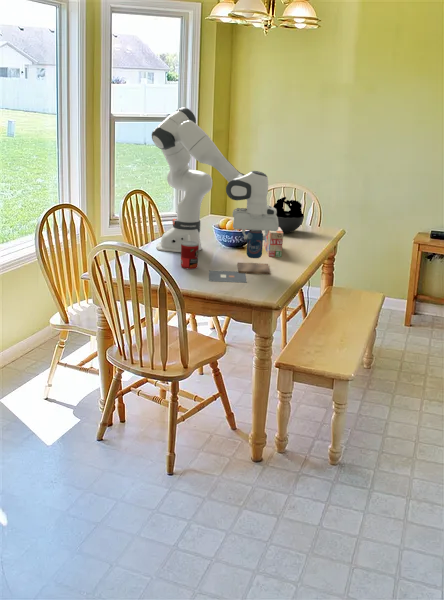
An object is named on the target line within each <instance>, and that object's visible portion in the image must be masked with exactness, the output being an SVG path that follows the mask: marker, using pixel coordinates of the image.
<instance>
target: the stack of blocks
mask: <svg viewBox="0 0 444 600" xmlns="http://www.w3.org/2000/svg"><path fill="white" fill-rule="evenodd" d="M283 241H284V233H283V231H282V230H281V228H280V227H278V230H277V231H268V234H267V236H266V238H265V240H264V242H263V246H264V249H265V251H266V252H267V256H268V257H270V258H271V257H272V258H278V257H279V258H282V253H283V252H282V251H283Z"/></svg>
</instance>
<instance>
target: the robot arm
mask: <svg viewBox="0 0 444 600" xmlns="http://www.w3.org/2000/svg"><path fill="white" fill-rule="evenodd" d="M151 140H152V141H153V143H154V144H155V146H156V147H157V148H158V149H160V150H161V152H162V154H163V156H164V158H165V160H166V162H167V164H168V167H169V171H168V173H167V177H166V180H167V183H168V185H169V186H170V187H172V188H174V189H175V190H177V191H182V192H184V193H185V194H184V196H183V199H182V200H180V201H179V202H178V204H177V206H176V207H177V208H176V209H177V211H176V212H177V213H176V214H177V215H176V218H173V219H172V222H171V223H172V227H171V228H170V229H168V230H167V231H165V232H164V233H163V234H162V236H161V239H160V242H158V243H157V244H156V247H155V248H156V250H158V251H162V252H174V253H181V243H182V242H183V241H194V242H197V243H199V251H201V250H202V249H203V247H202V243H201V233H200V232H201V226H202V225H201V220H200V218H201V217H200V216H201V208H202V207H201V206H202V203H203V199H204V198H205V196H206V194H209V192H210V191H211V190H212V187H213V178H212V176H211V175H210V174H209V173H207V172H205V171H202V170H197V169H192V168H191V167H190V166H189V163H190V161H191V157H192V158H193V159H195V160H196V161H198V162H199V163H200V164H204V165H207V166H208V165H209V166H211V167H213V169H216V170H217V171H218V172H219V173H220V174H221V176H222V177H223V178H224V179H225V180H226V181H227V182H228V183H227V184H226V187H225V192H226V193H225V194H226V195H227V196H228V198H229V199H231V200H233V201H245V200H246V207H245V208H244V207H242V208H240V207H236V208H234V209H233V211H232V217H233V220H232V228H233V229H234V230H241V233H242V235H243V239H244V240H246V241H247V237H248V234H246V230H247V231H249V230H262V231H264V234H263V241H265V238H266V236H267V234H268V231H277V230H278V217H277V215H276V213H277V210H276V209H275V208H274V207H273V206H272V205H268V199H267V198H268V194H269V178H268V176H267V174H266V173H264V172H262V171H259V170H251V171H250V172H248V173H247V174H244V173H242V172H240V171H239V170H238V169H236V168H235V166H234V165H233V164H232V163H231V162H230V161H229V160H228V158H226V157H225V156H224V155H223V153H222V152H221V150H219V148H218V146H217V145H216V144H215V142H214V141H213V140H212V138H211V137H210V136H209V135H208V134H207V133H206V132H205V130H204V129H202V127H201V126H199V125H198V124H197V118H196V116H195V114H194V112H192V110H191V109H190V108H187V107H185V106H182V107H180V108H177V109H176V110H175V111H174V112H173V113H171V114H170V115H168V116H167V117H166V118H165V119H164V120H162V122H161V123H160V124H159V125H158V126H156V127H155V128H154V129H153V131H152V132H151Z"/></svg>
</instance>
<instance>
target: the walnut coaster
mask: <svg viewBox="0 0 444 600" xmlns="http://www.w3.org/2000/svg"><path fill="white" fill-rule="evenodd" d="M236 266H237V272H238V273H245V274H253V275H254V274H255V275H271V271H270V266H269V263H261V262H258V263H257V262H239V261H238V262H237V265H236Z"/></svg>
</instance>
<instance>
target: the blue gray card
mask: <svg viewBox="0 0 444 600" xmlns="http://www.w3.org/2000/svg"><path fill="white" fill-rule="evenodd" d="M246 275H247V273H238V270H237V271H234V270H232V271H231V270H213V269H212V270H208V281H209V282H219V283H220V282H221V283H223V282H224V283H244V284H245V283H246V284H247V276H246Z"/></svg>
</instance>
